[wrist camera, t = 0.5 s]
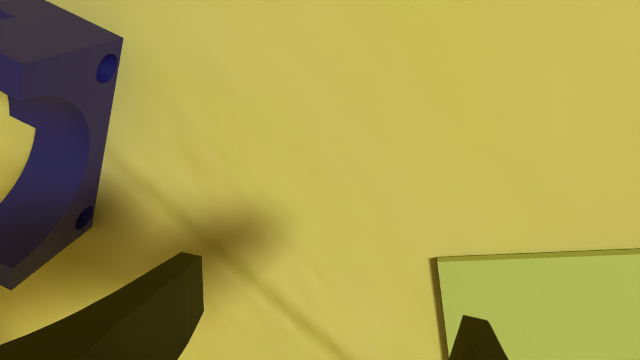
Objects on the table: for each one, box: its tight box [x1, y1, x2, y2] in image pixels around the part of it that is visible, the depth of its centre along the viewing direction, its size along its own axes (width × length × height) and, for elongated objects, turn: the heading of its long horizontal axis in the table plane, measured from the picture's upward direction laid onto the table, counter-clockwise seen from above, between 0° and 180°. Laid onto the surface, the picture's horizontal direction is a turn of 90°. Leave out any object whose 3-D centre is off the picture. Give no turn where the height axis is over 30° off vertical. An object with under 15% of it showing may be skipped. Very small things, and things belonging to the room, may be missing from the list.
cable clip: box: [0, 0, 123, 290], centre depth 21 cm, size 12×4×6 cm, turn 157°
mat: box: [437, 249, 640, 360], centre depth 22 cm, size 9×9×1 cm
